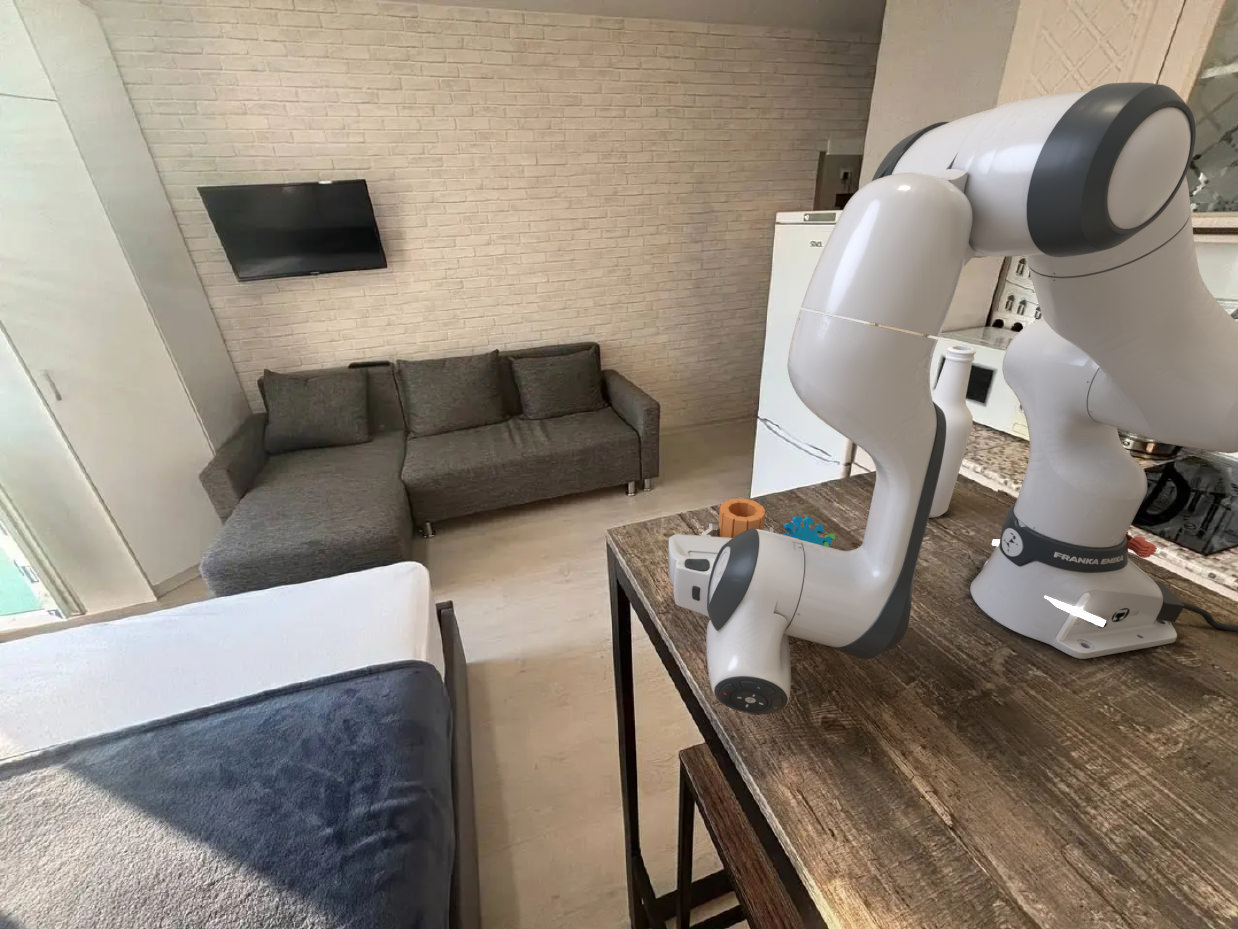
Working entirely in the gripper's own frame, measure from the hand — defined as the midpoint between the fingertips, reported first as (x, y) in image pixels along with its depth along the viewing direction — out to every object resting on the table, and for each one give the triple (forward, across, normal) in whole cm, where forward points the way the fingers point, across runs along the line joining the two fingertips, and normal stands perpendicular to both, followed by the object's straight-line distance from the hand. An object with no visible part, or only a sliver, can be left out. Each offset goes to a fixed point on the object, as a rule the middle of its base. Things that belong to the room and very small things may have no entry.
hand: (739, 529), depth 75 cm
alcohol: (+26, -35, +9) cm, 44 cm away
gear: (+5, -11, +9) cm, 16 cm away
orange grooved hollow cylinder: (-1, 0, +5) cm, 5 cm away
